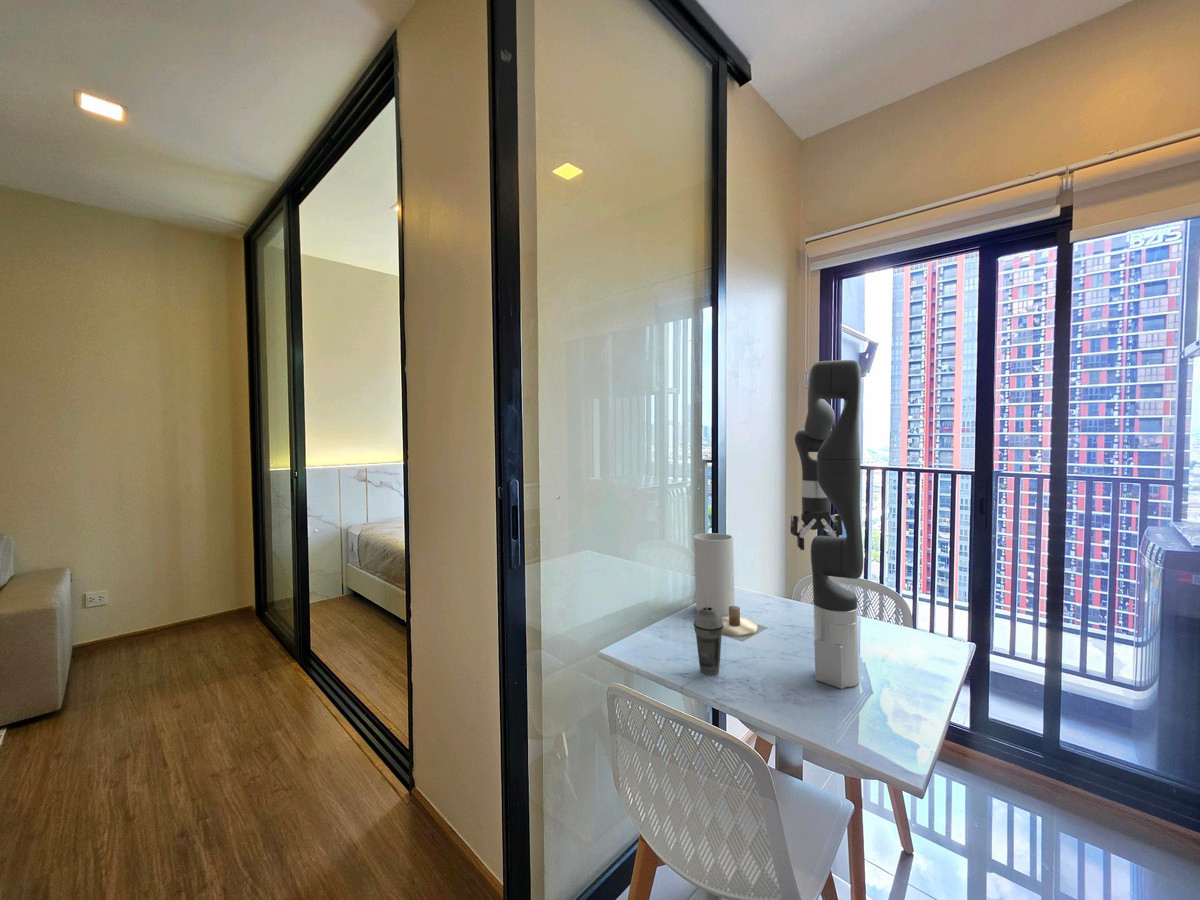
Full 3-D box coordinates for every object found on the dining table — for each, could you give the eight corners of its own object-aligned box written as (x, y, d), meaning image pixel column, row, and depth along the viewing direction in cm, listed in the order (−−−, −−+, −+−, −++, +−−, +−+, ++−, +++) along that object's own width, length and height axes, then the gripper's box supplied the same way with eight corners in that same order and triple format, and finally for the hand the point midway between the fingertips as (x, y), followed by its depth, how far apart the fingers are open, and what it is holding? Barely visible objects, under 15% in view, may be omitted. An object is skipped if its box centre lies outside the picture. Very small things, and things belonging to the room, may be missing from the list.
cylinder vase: (711, 602, 167) (709, 531, 166) (742, 611, 157) (740, 536, 157) (688, 611, 159) (686, 536, 159) (719, 621, 149) (717, 542, 149)
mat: (742, 643, 132) (742, 641, 132) (701, 629, 143) (701, 627, 143) (768, 629, 142) (768, 627, 142) (727, 617, 152) (727, 615, 152)
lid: (742, 640, 133) (741, 618, 133) (703, 627, 143) (703, 607, 143) (765, 627, 142) (765, 607, 142) (728, 616, 151) (727, 597, 151)
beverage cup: (703, 680, 112) (700, 596, 112) (689, 667, 119) (687, 587, 119) (730, 675, 114) (728, 592, 114) (715, 662, 121) (713, 584, 121)
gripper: (795, 497, 138) (796, 552, 138) (845, 496, 137) (847, 552, 137) (786, 494, 146) (788, 547, 146) (834, 493, 145) (836, 547, 145)
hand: (816, 549), depth 142 cm, fingers open, 8 cm apart
